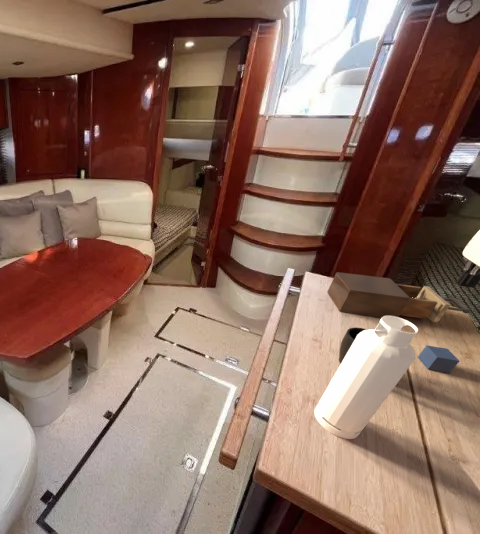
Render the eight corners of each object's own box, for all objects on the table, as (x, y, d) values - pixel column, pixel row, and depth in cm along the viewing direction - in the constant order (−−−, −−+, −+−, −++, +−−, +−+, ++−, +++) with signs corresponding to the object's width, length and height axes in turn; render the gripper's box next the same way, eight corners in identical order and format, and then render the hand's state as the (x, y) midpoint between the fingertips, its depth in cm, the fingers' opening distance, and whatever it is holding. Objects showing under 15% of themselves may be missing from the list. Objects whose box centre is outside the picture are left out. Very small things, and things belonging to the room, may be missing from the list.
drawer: (443, 306, 100) (455, 289, 96) (466, 327, 91) (480, 309, 88) (366, 296, 106) (375, 279, 102) (381, 314, 97) (392, 297, 94)
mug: (348, 385, 75) (365, 358, 71) (327, 351, 85) (341, 325, 81) (387, 392, 73) (408, 364, 69) (361, 356, 83) (378, 329, 79)
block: (438, 360, 81) (447, 348, 79) (449, 373, 78) (459, 361, 76) (417, 357, 83) (426, 345, 80) (427, 369, 79) (437, 357, 77)
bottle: (367, 443, 63) (445, 344, 49) (322, 433, 65) (385, 335, 51) (348, 409, 70) (412, 313, 56) (308, 401, 72) (360, 307, 58)
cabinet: (378, 299, 105) (390, 278, 101) (396, 320, 96) (410, 298, 92) (327, 292, 110) (336, 271, 105) (339, 311, 100) (350, 290, 96)
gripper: (558, 239, 70) (503, 302, 79) (506, 217, 82) (464, 274, 92) (513, 235, 72) (465, 297, 82) (469, 214, 85) (432, 270, 94)
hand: (464, 285), depth 87 cm, fingers closed
